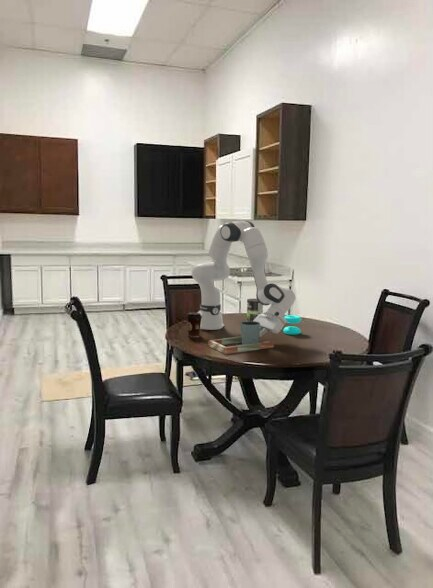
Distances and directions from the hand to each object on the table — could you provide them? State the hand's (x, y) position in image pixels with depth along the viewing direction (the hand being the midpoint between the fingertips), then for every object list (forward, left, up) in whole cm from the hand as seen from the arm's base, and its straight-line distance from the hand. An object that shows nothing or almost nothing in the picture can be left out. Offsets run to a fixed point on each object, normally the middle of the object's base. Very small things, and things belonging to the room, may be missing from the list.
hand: (258, 335), depth 256 cm
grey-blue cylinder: (0, -5, -5) cm, 7 cm away
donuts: (-12, +32, -5) cm, 34 cm away
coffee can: (-49, +31, -5) cm, 58 cm away
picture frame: (0, -11, -5) cm, 12 cm away
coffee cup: (-31, -22, -5) cm, 38 cm away
